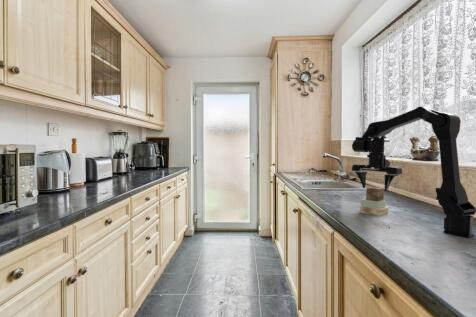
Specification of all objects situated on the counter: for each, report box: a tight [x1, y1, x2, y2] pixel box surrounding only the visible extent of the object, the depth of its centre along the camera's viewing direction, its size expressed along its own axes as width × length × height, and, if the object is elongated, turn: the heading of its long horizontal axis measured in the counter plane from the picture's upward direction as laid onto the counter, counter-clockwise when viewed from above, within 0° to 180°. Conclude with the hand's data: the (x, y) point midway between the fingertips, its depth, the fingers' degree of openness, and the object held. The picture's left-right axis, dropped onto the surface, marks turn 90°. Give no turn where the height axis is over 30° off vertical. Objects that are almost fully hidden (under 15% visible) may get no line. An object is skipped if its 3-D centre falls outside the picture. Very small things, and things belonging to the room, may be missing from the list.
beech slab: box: [359, 205, 389, 217], centre depth 115 cm, size 8×8×3 cm
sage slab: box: [360, 197, 387, 209], centre depth 115 cm, size 7×7×3 cm
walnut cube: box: [365, 186, 385, 201], centre depth 115 cm, size 5×5×5 cm
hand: (374, 189), depth 115 cm, fingers open, 9 cm apart
